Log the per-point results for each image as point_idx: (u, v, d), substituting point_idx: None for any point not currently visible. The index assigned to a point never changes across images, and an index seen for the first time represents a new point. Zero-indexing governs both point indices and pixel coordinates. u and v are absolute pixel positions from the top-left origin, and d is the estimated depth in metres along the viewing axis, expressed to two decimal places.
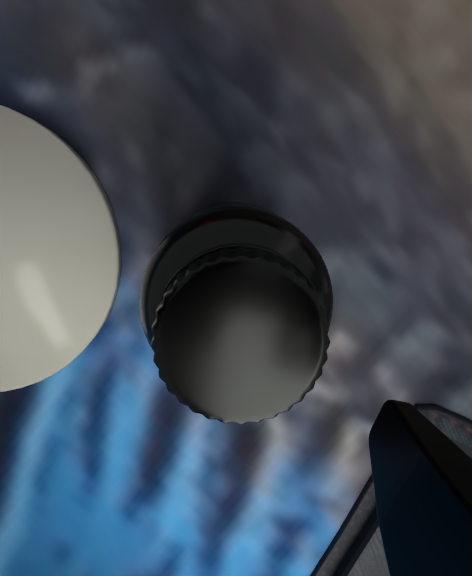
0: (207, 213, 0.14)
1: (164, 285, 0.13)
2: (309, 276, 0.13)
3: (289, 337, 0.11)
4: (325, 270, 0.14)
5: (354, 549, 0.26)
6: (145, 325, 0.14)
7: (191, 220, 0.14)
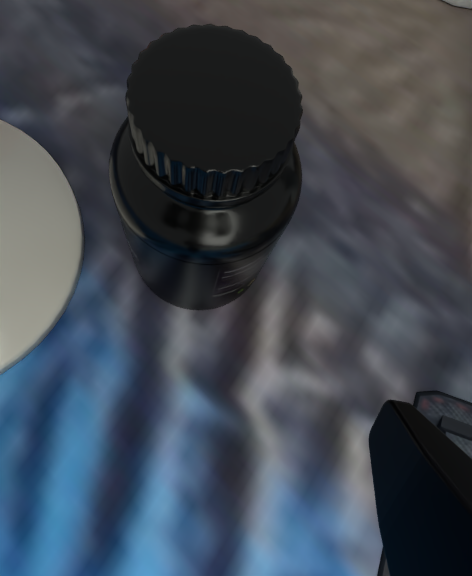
0: None
1: None
2: None
3: (262, 88, 0.11)
4: None
5: None
6: (115, 175, 0.13)
7: None
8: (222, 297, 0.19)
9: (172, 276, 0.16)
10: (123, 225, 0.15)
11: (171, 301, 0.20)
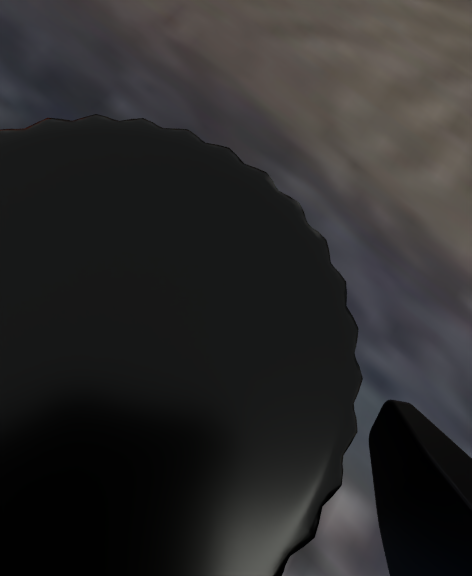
0: None
1: None
2: None
3: (243, 316, 0.04)
4: None
5: None
6: None
7: None
8: None
9: None
10: None
11: None
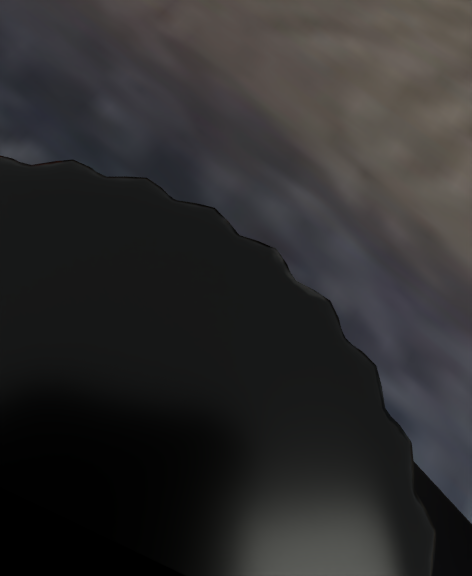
0: None
1: None
2: None
3: (235, 524, 0.02)
4: None
5: None
6: None
7: None
8: None
9: None
10: None
11: None
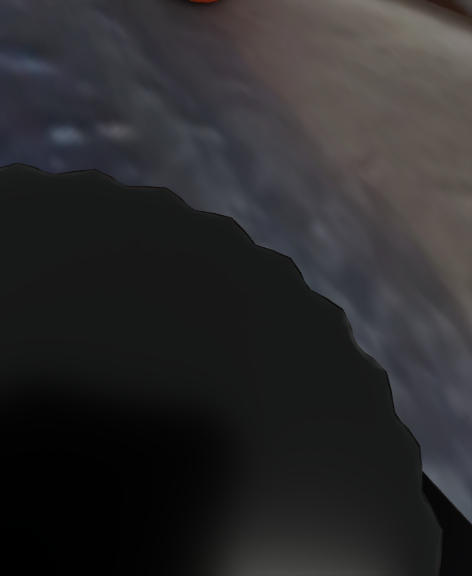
0: None
1: None
2: None
3: (254, 524, 0.02)
4: None
5: None
6: None
7: None
8: None
9: None
10: None
11: None
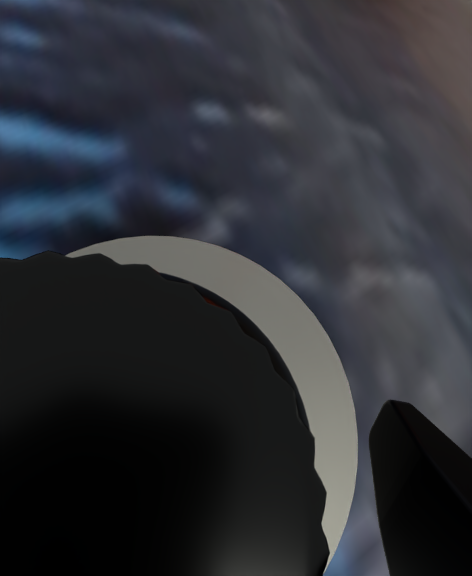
0: None
1: None
2: None
3: (200, 487, 0.03)
4: (285, 366, 0.07)
5: None
6: None
7: None
8: None
9: None
10: None
11: None
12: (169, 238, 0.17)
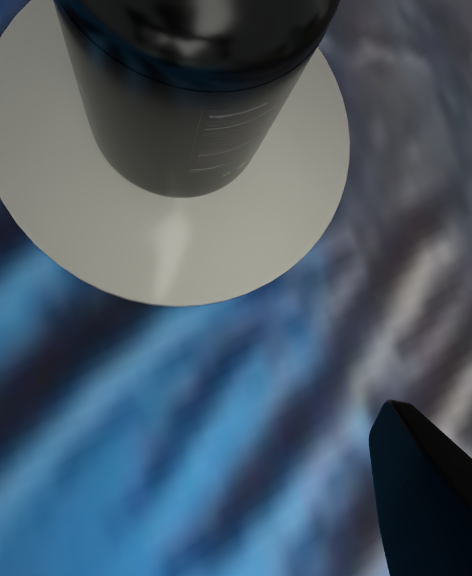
0: None
1: None
2: None
3: None
4: None
5: None
6: None
7: None
8: (202, 176, 0.14)
9: (132, 119, 0.11)
10: (59, 18, 0.10)
11: (133, 178, 0.15)
12: None
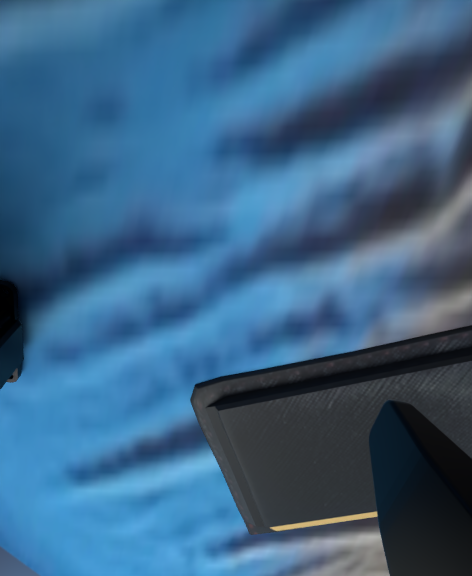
0: None
1: None
2: None
3: None
4: None
5: (348, 376, 0.23)
6: None
7: None
8: None
9: None
10: None
11: None
12: None
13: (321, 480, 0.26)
